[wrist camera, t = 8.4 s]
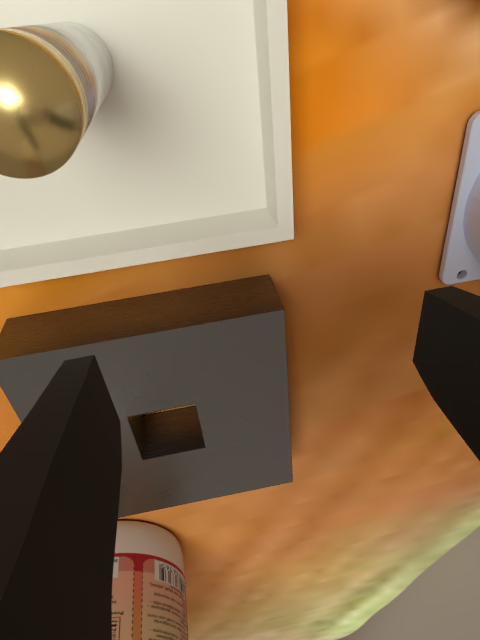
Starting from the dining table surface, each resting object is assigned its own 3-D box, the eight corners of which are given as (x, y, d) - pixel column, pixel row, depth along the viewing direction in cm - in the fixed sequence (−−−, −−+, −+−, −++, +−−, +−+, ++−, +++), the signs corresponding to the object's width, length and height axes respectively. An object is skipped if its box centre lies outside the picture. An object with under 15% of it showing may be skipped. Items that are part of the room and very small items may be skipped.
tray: (253, -274, 11) (276, -340, 9) (278, 213, 19) (294, 239, 17) (-300, -232, 10) (-415, -294, 8) (-37, 264, 18) (-63, 297, 16)
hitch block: (269, 274, 21) (284, 309, 18) (280, 440, 28) (292, 481, 25) (6, 319, 20) (-14, 362, 17) (87, 478, 27) (80, 525, 24)
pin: (101, 16, 14) (55, 21, 7) (121, 101, 15) (97, 168, 9) (23, 26, 14) (-97, 40, 7) (50, 111, 15) (-29, 187, 8)
